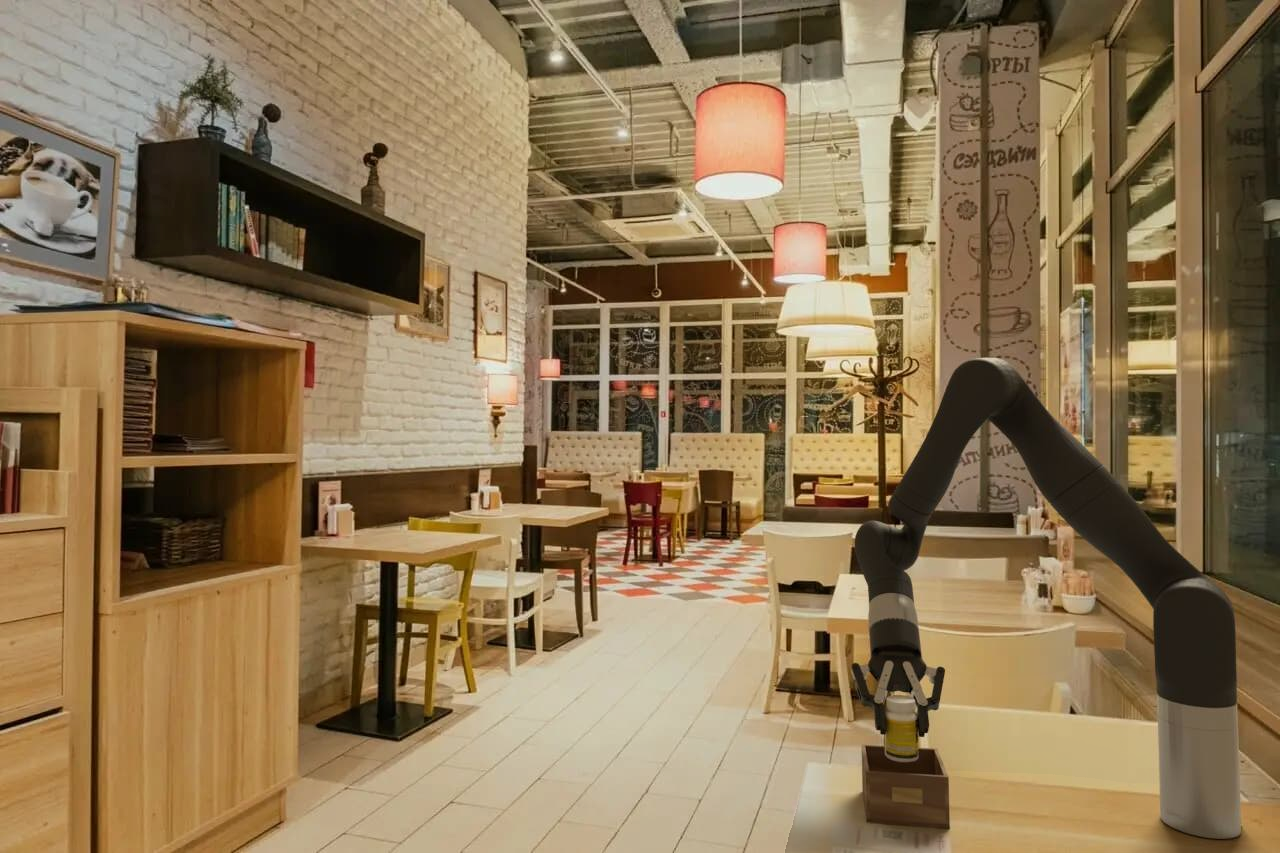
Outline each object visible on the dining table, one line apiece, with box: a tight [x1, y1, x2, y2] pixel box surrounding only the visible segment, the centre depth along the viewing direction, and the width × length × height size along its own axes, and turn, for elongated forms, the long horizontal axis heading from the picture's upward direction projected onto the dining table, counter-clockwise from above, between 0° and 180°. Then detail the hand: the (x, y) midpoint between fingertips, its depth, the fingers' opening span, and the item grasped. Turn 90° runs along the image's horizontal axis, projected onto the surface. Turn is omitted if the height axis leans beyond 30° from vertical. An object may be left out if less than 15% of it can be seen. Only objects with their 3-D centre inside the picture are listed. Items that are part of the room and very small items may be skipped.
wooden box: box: [861, 744, 951, 829], centre depth 122 cm, size 11×11×7 cm
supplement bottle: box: [884, 694, 920, 762], centre depth 123 cm, size 5×5×8 cm
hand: (902, 732), depth 121 cm, fingers closed on supplement bottle, 4 cm apart
